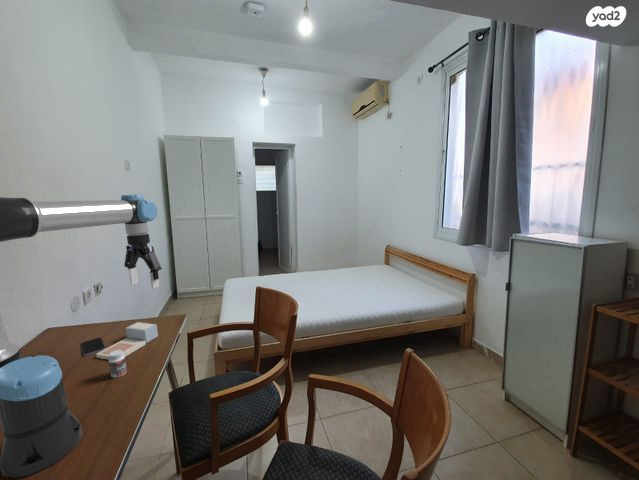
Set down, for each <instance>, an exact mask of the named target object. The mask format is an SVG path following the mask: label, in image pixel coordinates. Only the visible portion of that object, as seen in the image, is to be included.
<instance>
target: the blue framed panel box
mask: <svg viewBox="0 0 639 480" xmlns="http://www.w3.org/2000/svg"><path fill="white" fill-rule="evenodd" d="M125 332H126V338H129V339H136V340H144V341H146V344H147V343H149V342H151V341H152V340H154V339H156V338H157V337H159V332H158V324H156V323H149V322H148V323H147V322H141V321H140V322H139V321H137V322H135V323H133V324H130V325H129V326H127V327H125Z"/></svg>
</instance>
